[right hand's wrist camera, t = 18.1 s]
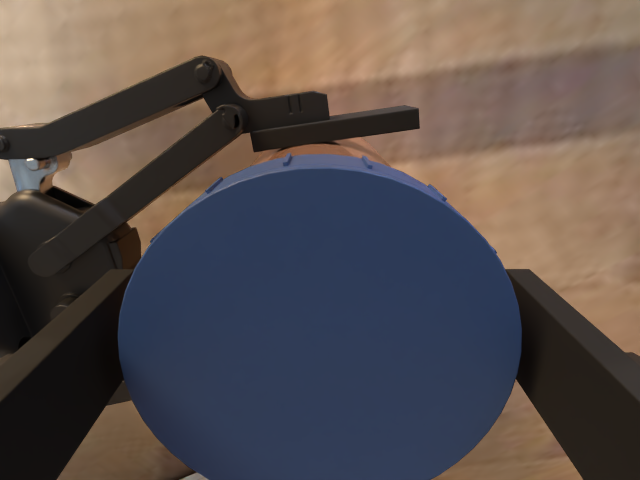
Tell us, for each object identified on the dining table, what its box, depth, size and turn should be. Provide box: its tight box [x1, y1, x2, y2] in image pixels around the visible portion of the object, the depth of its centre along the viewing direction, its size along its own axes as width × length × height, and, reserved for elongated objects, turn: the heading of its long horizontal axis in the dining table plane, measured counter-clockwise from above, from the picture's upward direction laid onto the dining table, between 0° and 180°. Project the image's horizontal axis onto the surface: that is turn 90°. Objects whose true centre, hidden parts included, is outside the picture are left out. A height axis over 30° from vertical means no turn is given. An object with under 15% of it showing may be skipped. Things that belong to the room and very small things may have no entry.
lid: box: [118, 153, 522, 480], centre depth 11 cm, size 10×10×2 cm
